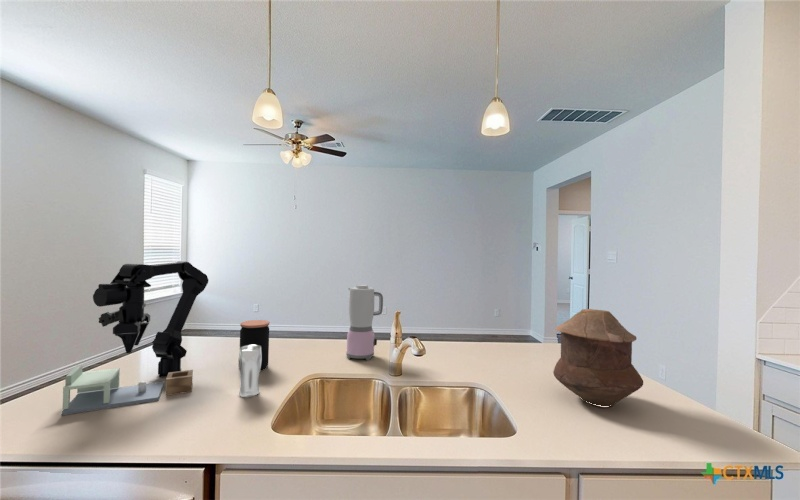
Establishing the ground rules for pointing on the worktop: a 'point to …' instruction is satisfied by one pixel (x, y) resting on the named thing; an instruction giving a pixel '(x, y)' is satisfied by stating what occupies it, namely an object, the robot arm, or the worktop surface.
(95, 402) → the grey base plate
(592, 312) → the pottery vessel
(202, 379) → the worktop surface
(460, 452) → the worktop surface
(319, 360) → the worktop surface
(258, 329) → the coffee jar
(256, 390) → the beer glass
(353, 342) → the blender
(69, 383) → the hood
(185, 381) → the sleeve
